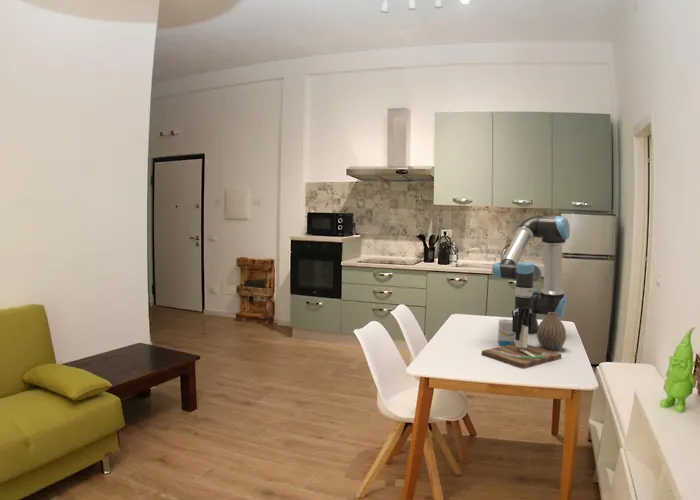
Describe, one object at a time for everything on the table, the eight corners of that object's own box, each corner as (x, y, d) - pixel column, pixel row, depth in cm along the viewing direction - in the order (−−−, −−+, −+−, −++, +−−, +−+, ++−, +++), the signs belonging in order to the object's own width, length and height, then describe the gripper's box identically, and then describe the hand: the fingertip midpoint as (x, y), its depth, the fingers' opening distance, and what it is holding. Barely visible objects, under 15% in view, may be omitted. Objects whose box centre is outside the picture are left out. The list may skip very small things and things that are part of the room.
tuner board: (519, 346, 237) (520, 341, 237) (561, 358, 219) (561, 353, 219) (481, 354, 222) (481, 350, 221) (522, 368, 204) (523, 363, 203)
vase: (536, 350, 231) (538, 314, 230) (535, 343, 244) (537, 309, 242) (566, 353, 227) (568, 317, 226) (564, 346, 239) (566, 311, 238)
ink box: (517, 347, 236) (518, 323, 235) (499, 345, 238) (500, 322, 237) (514, 342, 244) (516, 320, 244) (497, 341, 246) (498, 318, 245)
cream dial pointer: (514, 347, 227) (515, 323, 226) (518, 347, 227) (519, 323, 226) (531, 357, 211) (533, 331, 210) (536, 357, 211) (537, 331, 210)
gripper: (519, 298, 213) (516, 350, 215) (542, 296, 222) (539, 346, 224) (505, 296, 219) (502, 346, 221) (528, 293, 229) (525, 342, 230)
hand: (521, 346), depth 222 cm, fingers closed on cream dial pointer, 4 cm apart
